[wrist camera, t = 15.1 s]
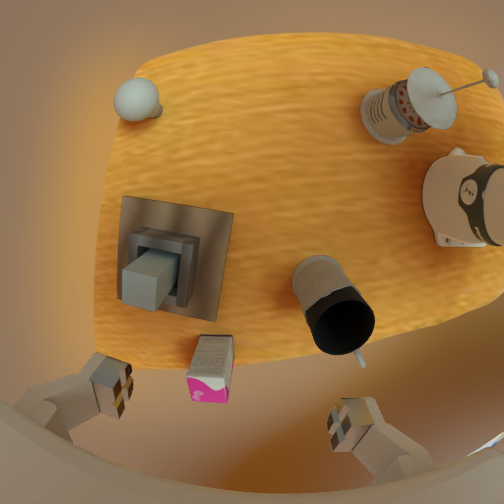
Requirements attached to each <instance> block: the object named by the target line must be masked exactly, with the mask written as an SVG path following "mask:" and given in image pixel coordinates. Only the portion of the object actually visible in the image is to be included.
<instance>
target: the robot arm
mask: <svg viewBox="0 0 504 504" xmlns="http://www.w3.org/2000/svg"><path fill="white" fill-rule="evenodd" d="M423 206H424V211H425V214H426V217H427V219H428V221H429V223H430V224H431V226H432V228H433V230H434V234H435V240H436V243H437V245H439V246H443V247H485V246H486V245H487V244H489V245H492V246H504V166H502V165H499V164H490V163H489V162H487V161H486V160H485V159H484V157H482V156H476V155H467V154H466V153H465V152H464V151H463V150H462V149H461V148H457V147H455V148H453V149H452V150H451V152H450V153H449V154H448V155H447V156H445V157H442V158H439V159H438V160H436V161H435V162H434V163H433V164H432V165H431V167H430V168H429V170H428V172H427V174H426V177H425V180H424V184H423ZM446 238H447V240H446ZM131 373H132V365H131V364H129V363H126V362H123V361H121V360H118V359H115V358H112V357H110V356H106V355H104V354H101V353H99V352H96V353H94V354H93V356H92V357H91V358H90V359H89V361H88V362H87V363H86V364H85V365H84V367H83V368H82V369H81V371H80V372H79V373H78V374H77V375H76V374H72V375H68V376H65V377H62V378H59V379H56V380H53V381H50V382H46V383H43V384H40V385H37V386H33V387H30V388H28V389H27V390H26V391H25V392H24V393H23V395H22V396H21V397H20V398H19V399H18V400H17V402H16V403H15V404H14V405H13V406H11V405H10V404H8V403H7V402H6V401H5V400H3V399H2V398H1V397H0V504H504V452H502V451H500V450H498V449H496V448H494V447H486V448H484V449H482V450H480V451H478V452H476V453H474V454H472V455H469V456H467V457H465V458H463V459H460V460H458V461H456V462H453V463H450V464H448V465H446V466H443V467H440V468H437V469H435V467H434V465H433V463H432V461H431V458H430V457H429V454H428V452H427V451H426V449H425V448H423V447H422V446H420V445H419V444H417V443H416V442H414V441H413V440H411V439H410V438H409V437H407V436H406V435H404V434H403V433H401V432H400V431H399V430H397V429H396V428H394V427H393V426H392V425H390V424H386V423H385V421H384V419H383V417H382V414H381V412H380V410H379V408H378V406H377V404H376V401H375V399H374V398H372V397H367V398H339V399H338V400H337V401H336V403H335V406H336V408H335V409H334V410H332V411H331V412H330V414H329V416H328V420H327V429H328V432H329V433H330V434H331V435H332V438H331V439H330V442H331V445H332V449H333V452H344V451H352V453H353V454H354V455H355V456H356V457H357V459H358V460H359V461H360V462H361V463H362V464H363V465H364V466H365V467H366V468H367V469H368V470H369V471H370V472H371V473H372V474H373V475H374V476H375V477H376V479H375V480H374V481H373V482H372V483H371V484H370V485H369V486H368V487H364V488H358V489H352V490H344V491H335V492H324V493H309V494H264V493H248V492H238V491H229V490H221V489H214V488H208V487H202V486H196V485H192V484H187V483H182V482H178V481H174V480H170V479H166V478H162V477H158V476H154V475H151V474H148V473H145V472H141V471H138V470H135V469H132V468H130V467H127V466H124V465H121V464H118V463H116V462H113V461H111V460H108V459H106V458H103V457H101V456H99V455H96V454H94V453H92V452H90V451H87V450H85V449H83V448H81V447H79V446H77V445H75V444H74V443H73V441H72V439H71V437H70V435H69V433H68V431H69V430H71V429H73V428H75V427H77V426H79V425H80V424H82V423H84V422H86V421H88V420H89V419H91V418H93V417H95V416H96V415H98V414H99V413H103V414H106V415H108V416H111V417H114V418H117V419H120V417H121V415H122V413H123V411H124V409H125V405H124V402H126V401H128V400H129V399H130V397H131V395H132V391H133V379H132V378H131V376H130V375H131Z"/></svg>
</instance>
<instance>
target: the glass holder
mask: <svg viewBox="0 0 504 504" xmlns="http://www.w3.org/2000/svg"><path fill="white" fill-rule="evenodd" d="M292 288H293V291H294V294H295V295H296V297H297V298H298V299H299V301H300V304H301V307H302V310H303V313H304V316H305V319H306V322H307V324H308V326H309V327H310V329H311V332H312V336H313V339H314V341H315V343H316V345H317V346H318V348H319V349H320V350H322V351H323V352H325V353H328V354H331V355H343V354H348V353H351V352H354V354H355V356H356V358H357V360H358V362H359V364H360V366H361V368H364V367H365V366H366V364H365V362H364V360H363V358H362V356H361V354H360V352H359V350H358V348H360V347H361V346H362V345H363V344H364V343H365V342H366V341H367V340H368V339H369V337H370V336H371V334H372V332H373V329H374V325H375V316H374V313H373V311H372V309H371V308H370V306H369V305H368V304H367V303H366V301H365V300H364V299H363V298H362V295H361V294H360V292H359V291H358V289H357V288H356V287H355V286H354V285H353V284H352V282H351V281H350V280H349V279H348V278H347V277H346V275H345V274H344V273H343V270H342V267H341V266H340V264H339V263H338V262H337V261H336V260H335V259H333V258H331V257H329V256H325V255H315V256H312V257H309V258H307V259H305V260H304V261H302V262H301V263H300V264H299V265H298V267H297V268H296V269H295V271H294V273H293V277H292Z"/></svg>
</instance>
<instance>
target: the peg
mask: <svg viewBox="0 0 504 504" xmlns="http://www.w3.org/2000/svg"><path fill="white" fill-rule="evenodd" d="M180 258H181V254H178V253H173V252H168V251H163V250H158V249H154V248H151V249H150V250H148V251H147V252H146V253H144V254H143V255H142V256H140V257H139V258H137V259H136V260H135V261H133V262H132V263H131V264H129V265H128V266H127V267H125V268H124V269H123V270H122V303H123V304H126V305H130V306H134V307H137V308H141V309H145V310H149V311H153V312H155V311H156V310H157V309H158V307H159V306H160V304H161V303H162V302H163V300H164V299H165V297H166V296H167V295H168V293H169V292H170V291H171V289H172V288H173V286H174V285H175V284H176V282H177V281H178V277H179V267H180Z"/></svg>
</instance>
